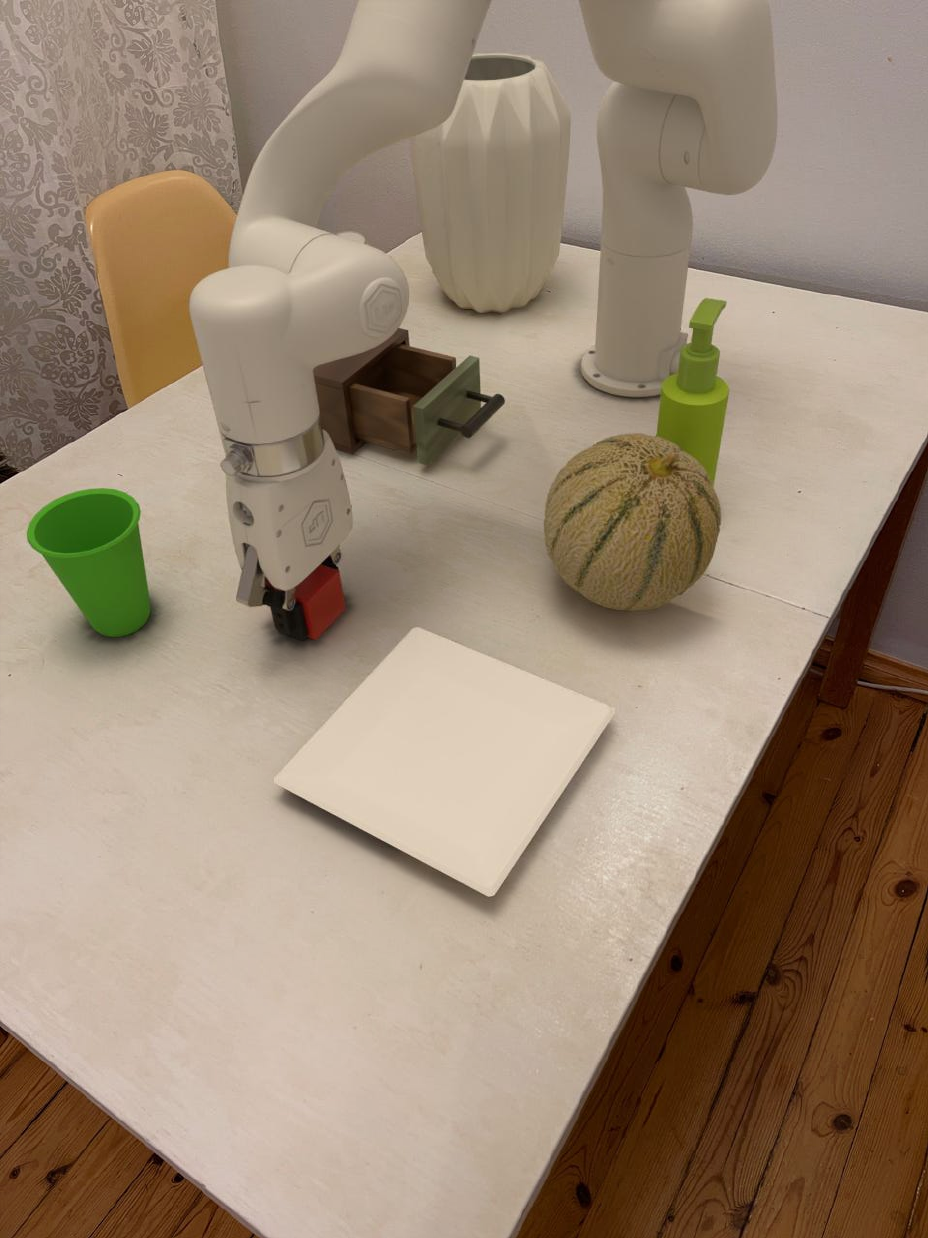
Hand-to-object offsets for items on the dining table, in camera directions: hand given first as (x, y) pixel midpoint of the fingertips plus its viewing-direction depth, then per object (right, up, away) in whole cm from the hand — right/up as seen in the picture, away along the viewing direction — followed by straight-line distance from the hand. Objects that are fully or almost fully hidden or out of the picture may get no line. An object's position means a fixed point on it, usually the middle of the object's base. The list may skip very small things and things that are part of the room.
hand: (310, 613), depth 85 cm
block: (0, 0, 0) cm, 0 cm away
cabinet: (-1, +23, +25) cm, 34 cm away
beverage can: (0, +37, +40) cm, 54 cm away
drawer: (+9, +20, +20) cm, 30 cm away
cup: (-17, -1, +1) cm, 17 cm away
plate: (+12, -11, -12) cm, 21 cm away
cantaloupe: (+28, +2, +1) cm, 28 cm away
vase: (+17, +43, +45) cm, 65 cm away
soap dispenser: (+35, +11, +10) cm, 38 cm away
